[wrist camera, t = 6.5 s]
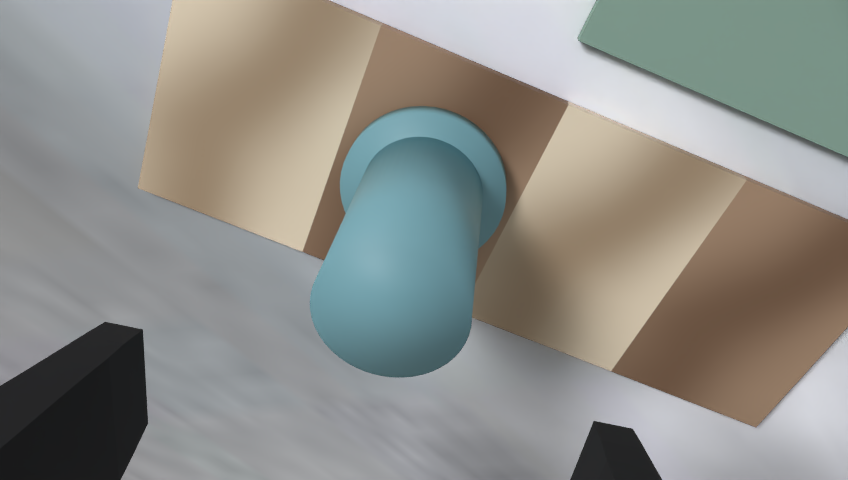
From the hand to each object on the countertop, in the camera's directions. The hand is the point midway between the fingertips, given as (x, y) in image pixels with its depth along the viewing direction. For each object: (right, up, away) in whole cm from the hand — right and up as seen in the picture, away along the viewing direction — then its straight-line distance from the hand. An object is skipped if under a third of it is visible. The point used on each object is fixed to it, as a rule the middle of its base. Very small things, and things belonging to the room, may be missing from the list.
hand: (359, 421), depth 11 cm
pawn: (+1, +4, +8) cm, 9 cm away
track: (+3, +4, +8) cm, 10 cm away
